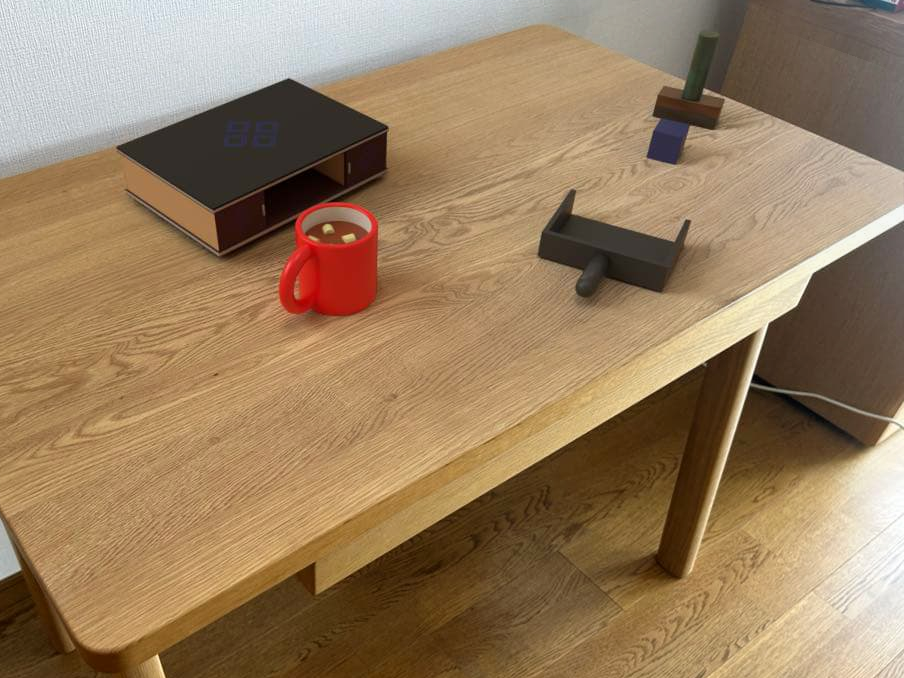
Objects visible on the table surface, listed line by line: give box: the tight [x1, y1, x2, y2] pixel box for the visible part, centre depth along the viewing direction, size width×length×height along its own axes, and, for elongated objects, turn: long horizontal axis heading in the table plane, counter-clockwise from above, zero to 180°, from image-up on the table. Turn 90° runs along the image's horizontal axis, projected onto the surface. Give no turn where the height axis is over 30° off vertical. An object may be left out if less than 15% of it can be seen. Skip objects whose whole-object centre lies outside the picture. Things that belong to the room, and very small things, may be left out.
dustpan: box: [537, 188, 692, 299], centre depth 90 cm, size 16×13×3 cm
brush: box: [651, 29, 726, 131], centre depth 111 cm, size 8×3×11 cm, turn 62°
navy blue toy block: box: [646, 118, 691, 165], centre depth 106 cm, size 4×4×4 cm
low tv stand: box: [115, 77, 390, 258], centre depth 99 cm, size 17×25×7 cm
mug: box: [278, 201, 379, 316], centre depth 84 cm, size 8×12×8 cm, turn 144°
